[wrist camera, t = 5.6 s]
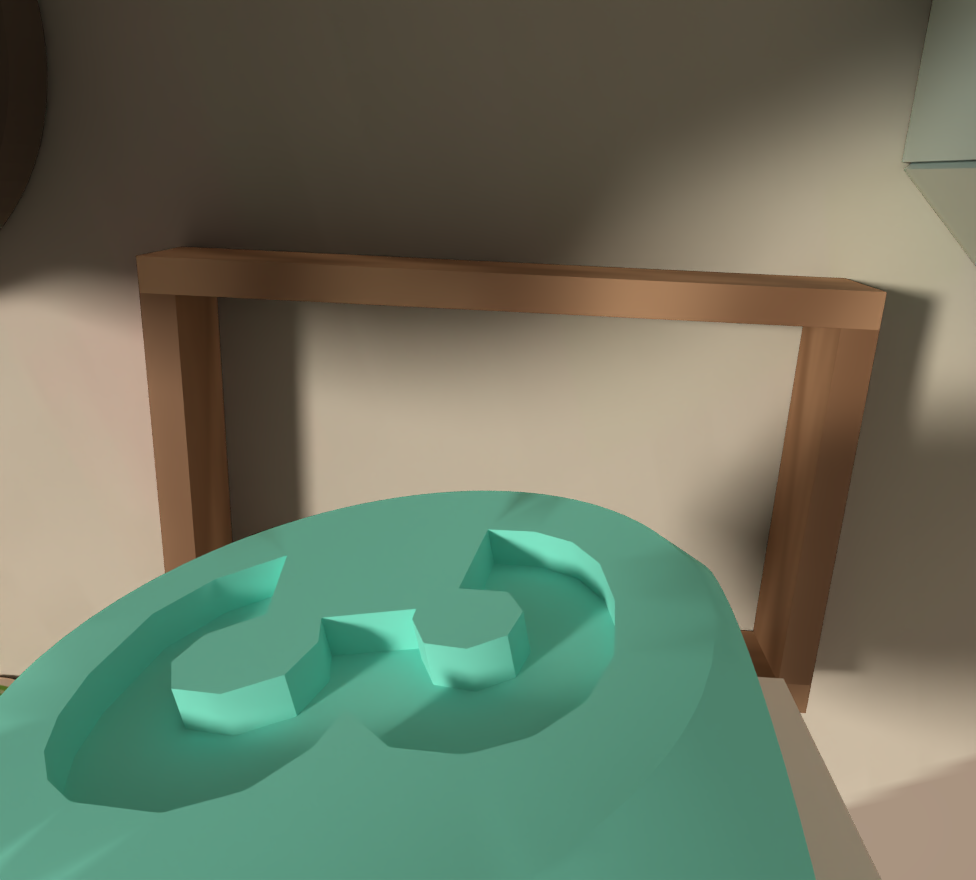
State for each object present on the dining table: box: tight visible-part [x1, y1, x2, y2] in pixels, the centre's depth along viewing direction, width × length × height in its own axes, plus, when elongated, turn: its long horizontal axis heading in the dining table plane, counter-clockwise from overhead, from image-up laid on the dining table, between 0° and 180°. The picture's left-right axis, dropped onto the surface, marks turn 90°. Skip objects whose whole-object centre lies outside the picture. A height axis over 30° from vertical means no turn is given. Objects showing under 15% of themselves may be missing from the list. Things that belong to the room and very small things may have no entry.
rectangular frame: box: [136, 247, 887, 713], centre depth 25 cm, size 20×13×3 cm, turn 88°
